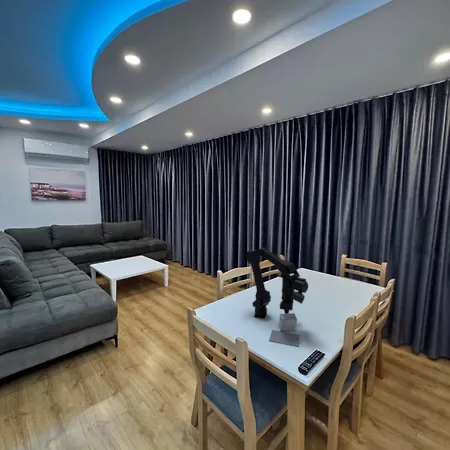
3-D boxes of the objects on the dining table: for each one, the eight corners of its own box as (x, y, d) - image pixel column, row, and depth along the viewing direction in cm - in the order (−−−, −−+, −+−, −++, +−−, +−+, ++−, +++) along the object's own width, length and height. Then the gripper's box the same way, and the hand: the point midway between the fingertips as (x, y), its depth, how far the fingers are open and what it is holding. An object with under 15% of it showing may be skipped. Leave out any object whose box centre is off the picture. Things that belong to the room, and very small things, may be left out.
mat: (269, 341, 118) (269, 340, 118) (272, 330, 127) (272, 329, 127) (298, 347, 113) (298, 346, 113) (299, 335, 123) (299, 334, 123)
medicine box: (292, 324, 131) (294, 312, 127) (295, 331, 127) (297, 319, 123) (278, 324, 131) (280, 313, 127) (280, 331, 127) (282, 319, 123)
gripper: (303, 295, 115) (302, 326, 117) (304, 282, 133) (303, 309, 135) (279, 293, 119) (279, 322, 121) (283, 280, 136) (282, 306, 138)
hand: (287, 315), depth 128 cm, fingers closed
